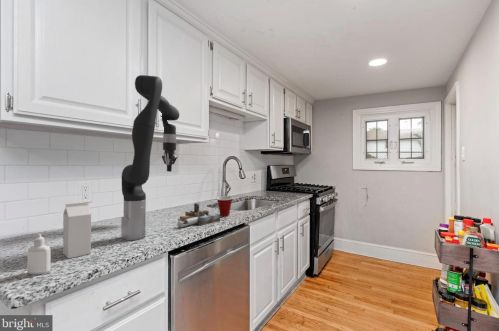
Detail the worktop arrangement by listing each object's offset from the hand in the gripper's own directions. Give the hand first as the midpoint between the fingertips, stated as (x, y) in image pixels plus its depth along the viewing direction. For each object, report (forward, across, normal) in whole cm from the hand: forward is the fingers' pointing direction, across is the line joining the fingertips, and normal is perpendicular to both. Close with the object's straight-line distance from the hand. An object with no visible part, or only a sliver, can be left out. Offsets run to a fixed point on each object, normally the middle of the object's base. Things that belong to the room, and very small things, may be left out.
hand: (169, 171), depth 150 cm
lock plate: (+29, +14, +12) cm, 34 cm away
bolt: (+27, +14, +12) cm, 33 cm away
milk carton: (+29, +22, -54) cm, 65 cm away
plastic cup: (+29, +15, +32) cm, 46 cm away
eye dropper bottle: (+29, +31, -67) cm, 79 cm away
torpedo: (+29, +19, +1) cm, 35 cm away
